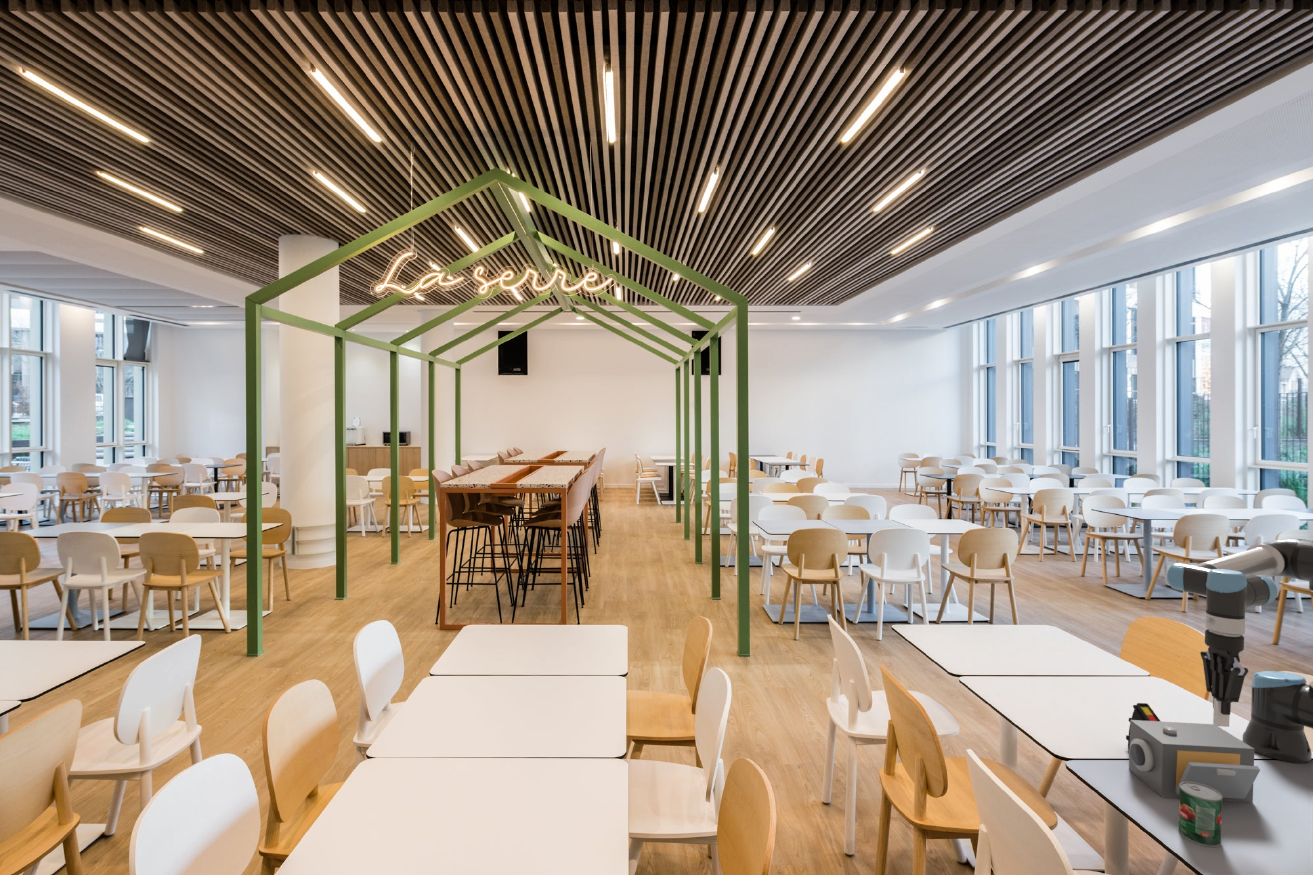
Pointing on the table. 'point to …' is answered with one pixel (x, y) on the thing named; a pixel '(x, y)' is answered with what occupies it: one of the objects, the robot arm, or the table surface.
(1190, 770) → the door
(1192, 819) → the canned tomato
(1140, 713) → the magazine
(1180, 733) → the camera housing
